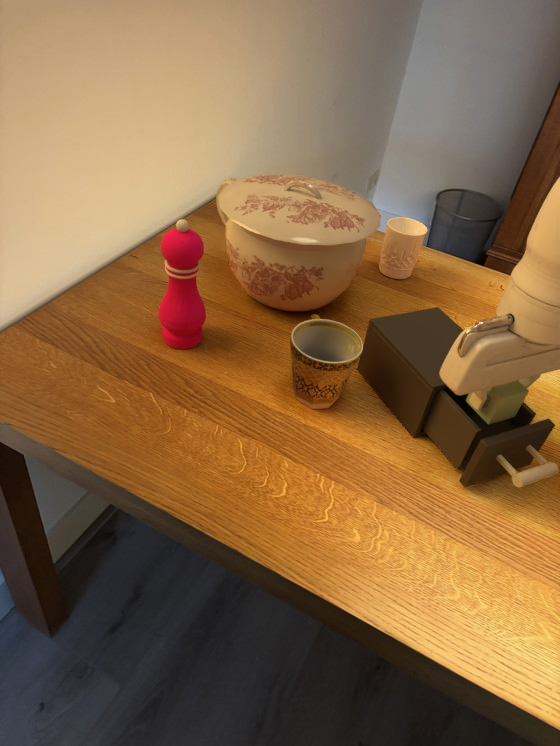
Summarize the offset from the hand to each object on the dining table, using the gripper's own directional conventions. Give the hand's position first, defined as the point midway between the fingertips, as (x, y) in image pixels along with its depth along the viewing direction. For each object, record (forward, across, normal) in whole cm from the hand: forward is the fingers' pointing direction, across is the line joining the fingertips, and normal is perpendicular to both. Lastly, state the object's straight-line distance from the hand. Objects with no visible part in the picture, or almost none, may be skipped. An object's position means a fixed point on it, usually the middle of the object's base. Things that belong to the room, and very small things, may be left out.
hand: (495, 400), depth 69 cm
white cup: (+10, +18, +45) cm, 50 cm away
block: (+2, 0, 0) cm, 2 cm away
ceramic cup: (+10, -15, +18) cm, 26 cm away
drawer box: (+10, 0, +12) cm, 16 cm away
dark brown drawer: (+9, 0, -1) cm, 9 cm away
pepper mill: (+10, -30, +35) cm, 47 cm away
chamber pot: (+10, -7, +44) cm, 46 cm away
